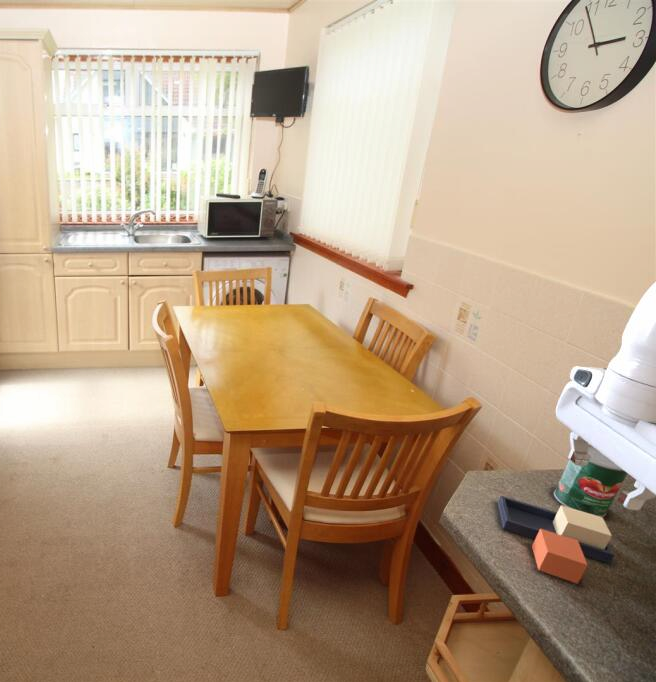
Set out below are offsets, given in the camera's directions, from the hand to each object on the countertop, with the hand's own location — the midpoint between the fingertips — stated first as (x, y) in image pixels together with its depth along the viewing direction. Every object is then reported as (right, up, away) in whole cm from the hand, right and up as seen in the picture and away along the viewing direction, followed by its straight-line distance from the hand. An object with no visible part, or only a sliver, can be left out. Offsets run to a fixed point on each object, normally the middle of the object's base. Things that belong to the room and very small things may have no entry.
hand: (600, 482), depth 67 cm
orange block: (+3, -17, +11) cm, 20 cm away
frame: (+8, -14, +18) cm, 24 cm away
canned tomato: (+20, -12, +25) cm, 35 cm away
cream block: (+11, -14, +16) cm, 24 cm away
